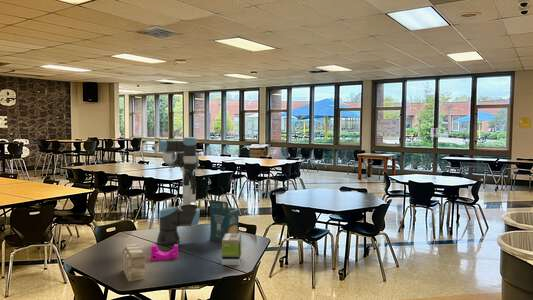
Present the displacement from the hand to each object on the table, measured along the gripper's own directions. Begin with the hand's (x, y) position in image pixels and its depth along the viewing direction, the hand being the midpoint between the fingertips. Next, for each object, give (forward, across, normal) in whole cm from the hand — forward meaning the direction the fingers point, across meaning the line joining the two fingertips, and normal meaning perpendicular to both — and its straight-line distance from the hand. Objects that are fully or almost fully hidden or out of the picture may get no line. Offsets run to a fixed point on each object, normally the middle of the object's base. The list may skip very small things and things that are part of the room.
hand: (189, 197), depth 243 cm
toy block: (+35, 0, -16) cm, 38 cm away
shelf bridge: (+35, +20, -35) cm, 53 cm away
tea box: (+35, +23, +18) cm, 46 cm away
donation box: (+35, -22, +33) cm, 53 cm away
